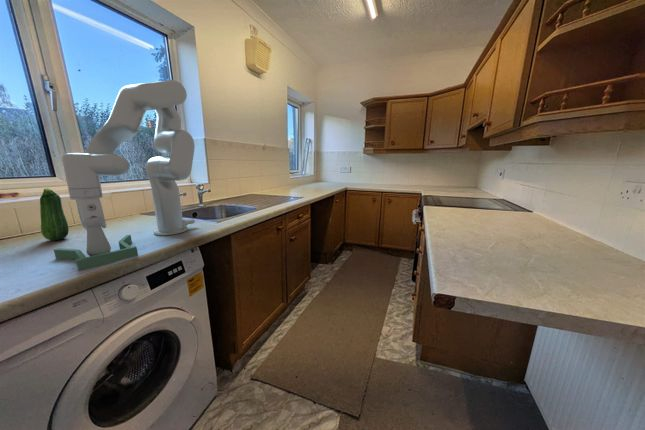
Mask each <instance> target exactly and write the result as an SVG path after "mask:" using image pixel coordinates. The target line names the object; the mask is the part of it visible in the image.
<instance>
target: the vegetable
mask: <svg viewBox="0 0 645 430" xmlns="http://www.w3.org/2000/svg"><path fill="white" fill-rule="evenodd" d="M39 205H40V206H39V207H40V210H39V211H40V212H39V213H40V233H41V235H42V236H43V238H45V240H49V241H59V240H64V239H66V237H67V236H68V234H69V231H70V229H69V223H68V221H67V218H66V216H65V213H64V209H63V205H62V198H61V196H60V195H58V194H57V193H56V192H55V191H54V190H53V189H50V188H43V192H42V194H41V196H40V198H39Z"/></svg>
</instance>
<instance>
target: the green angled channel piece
mask: <svg viewBox="0 0 645 430" xmlns="http://www.w3.org/2000/svg"><path fill="white" fill-rule="evenodd" d="M132 242H133V241H132V235H131V234H126V235H125V236H123V237H122V238H121V239H120V240H118V246H119V249H117V250H116V249H115V250H112V251H110V252H107V253H103V254H98V255H94V256H87V257H86V254H84V253H83V251H82V250H81V249H76V248H61V247H60V248H54V249H53V253H54V258H55V259H57V260H71V261H72V260H73V261H75V262H76V266H77V270H78V271H82V269H83V270H87V269H91V268H94V267H99V266H103V265H106V264H110V263H114V262H118V261H122V260H126V259H130V258H135V257H138V256H139V253H138V247H137V246H136V245H135V246H131V244H132Z"/></svg>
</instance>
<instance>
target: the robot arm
mask: <svg viewBox="0 0 645 430" xmlns="http://www.w3.org/2000/svg"><path fill="white" fill-rule="evenodd" d="M187 94H188V93H187V90H186V88H185V86H184V85H183V84H182V83H181V82H179V81H177V80H174V79H167V80H161V81H154V82H141V83H135V84H128V85H124V86H123V87H121V88H120V90H119V91H118V94H117V96H116V99H115V101H114V104H113V107H112V110H111V112H110V114H109V117H108V119H107V120H106V122H105V123H104V124H103V125H102V126H101V127H100V129H98V131H97V132H96V133H95V134H94V135H93V137H92V138H91V139H90V142H89V143H88V145H87V147H86V149H85V152H84V153H83V152H82V153H81V152H67V153H64V154H63V155H62V156H61V159H62V166H63V171H64V174H65V180H66V185H67V191H68V195H69V198H70V200H75V203H76V208H77V212H78V215H79V220H80V223H81V226H82V228H84V230H86V231H87V226H85V225H84V223H83V221H84V219H87V218H90V217H100V218H102V224H101V228H102V229H106V228H107V222H106V218H105V214H104V208H103V205H102V202H101V198H103V196H104V195H103V189H102V186H101V185H102V184H101V179H100V177H101V176H103V177H104V176H105V177H121V176H123V175H126V173H128V171H129V170H130V163H129V161H128V160H127V158H125V157H124V156H122V155H120V154H118V153H115V152H116V151H117V149H118V148H119V147H120V146H121V145H122V144H123V143H125V142H127V141H128V140H130V139H132V138H134V137H135V136H136V135H137V134H138V133H139V131H140V127H141V124H142V122H143V120H144V117H145V114H146V111H153V110H154V112H155V114H156V125H155V131H154V138H153V147H154V148H155V149H154V150H156V151H157V152H158V153H159V154H164V155H162V156H161V155H160V156H159V155H157V156H154V157H151V158H149V159H148V160H147V161H146V164H145V172H146V173H145V174H146V175H147V178H148V180H149V184H150V187H151V192H152V200H153V206H154V212H155V213H154V214H155V220H156V227H157V228H156V229H154V230H153V234H154V235H156V236H172V235H173V236H174V235H178V234H182V233H184V232H186V231H188V229H189V227H188V225H192V224H195V223H196V221H195V219H184V218H183V212H182V204H181V198H180V197H181V196H180V190H179V186H178V184H177V182H176V181H185V180H187V179H188V178H189V177H190V175H191V172H192V168H193V162H194V161H193V160H194V154H195V147H196V146H195V141H194V138H193V136H192V135H191V134H190V133H189V132H188V131H186V130H184V129H182V128H181V127H182V120H181V116H180V114H179V112H178V110H177V109H176V107H175V106H179V105H182V104H183V103H185V102H186V99H187V96H188V95H187ZM166 155H167V156H166ZM168 155H169V156H168Z"/></svg>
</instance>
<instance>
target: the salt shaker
mask: <svg viewBox="0 0 645 430" xmlns="http://www.w3.org/2000/svg"><path fill="white" fill-rule="evenodd" d="M83 223H84V225H85V226H87V230H86V254H87V255H88V257H90V256H94V255H98V254H103V253H107V252H112V251H111V249H112V247H111V244H110V242H109V240H108V239H107V236H106V233H105V232H104V230H103V227H101V224H102V218H100V217H90V218H87V219H84V221H83Z"/></svg>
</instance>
